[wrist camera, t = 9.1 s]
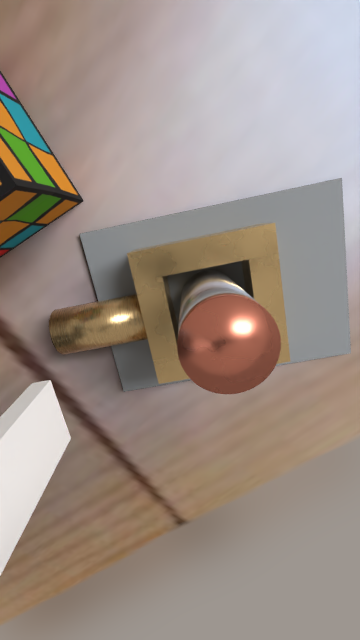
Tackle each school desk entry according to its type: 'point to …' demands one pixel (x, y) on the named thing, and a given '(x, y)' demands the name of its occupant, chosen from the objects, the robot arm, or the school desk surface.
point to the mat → (295, 264)
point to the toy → (27, 176)
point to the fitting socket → (156, 302)
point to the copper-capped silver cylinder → (225, 335)
